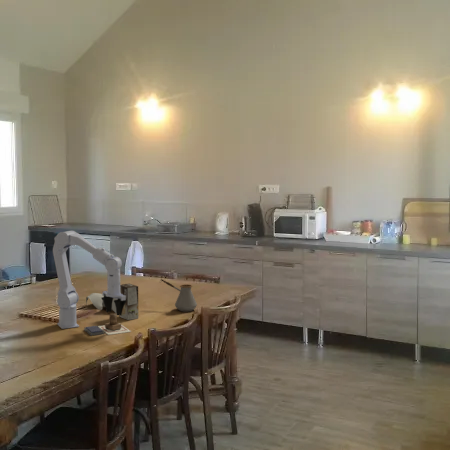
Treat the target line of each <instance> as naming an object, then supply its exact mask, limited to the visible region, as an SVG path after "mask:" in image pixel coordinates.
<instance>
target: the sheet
mask: <svg viewBox="0 0 450 450" xmlns="http://www.w3.org/2000/svg"><path fill="white" fill-rule="evenodd" d="M119 324H121V323H119ZM97 326H98V327H99V328H101V329H102V330H103V331H104V334H106V335H108V336H111V335H112V336H113V335H117V334H126V333H132V330H129V328H127V327H126V326H124V325H122V324H121V329H120V330H115V331H112V330H108V329H106V328H105V324H104V325H97Z"/></svg>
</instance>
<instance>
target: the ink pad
mask: <svg viewBox="0 0 450 450" xmlns="http://www.w3.org/2000/svg"><path fill="white" fill-rule="evenodd" d="M98 326H99V325H92V326H86V327H84V328H83V329H84V331H85V332H86V333H87V334H88V335H89V336H90V337H92V335H93V336H99V335H105V332H104V331H103V330H102V329H101V328H99V327H98Z"/></svg>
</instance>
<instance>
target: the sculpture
mask: <svg viewBox="0 0 450 450" xmlns="http://www.w3.org/2000/svg"><path fill="white" fill-rule="evenodd" d="M102 297H104V296H103V293H98V292H97V293H96V292H92V293H90V294H89V295H87V296H86V297H85V303H86V306H87V303H88V300H90V302H91V303H92V305H93V306H94V308H96V309H97V310H101V311H102V310H103V308H105V305H104V302H103V300H102ZM114 300H118V299H116V298H113V301H112V310H111V311H113V312H114V314H116V306H115V303H114Z"/></svg>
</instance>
